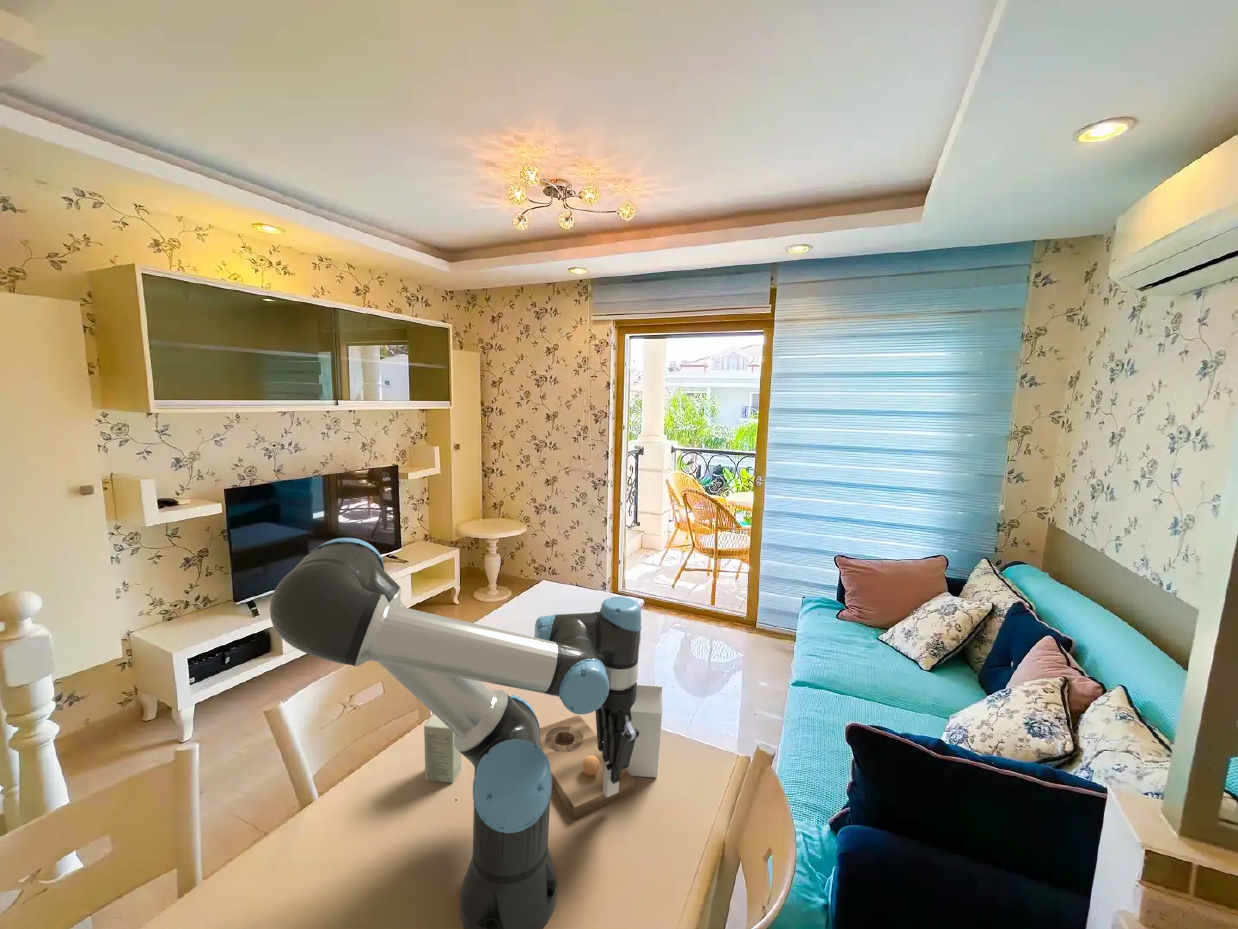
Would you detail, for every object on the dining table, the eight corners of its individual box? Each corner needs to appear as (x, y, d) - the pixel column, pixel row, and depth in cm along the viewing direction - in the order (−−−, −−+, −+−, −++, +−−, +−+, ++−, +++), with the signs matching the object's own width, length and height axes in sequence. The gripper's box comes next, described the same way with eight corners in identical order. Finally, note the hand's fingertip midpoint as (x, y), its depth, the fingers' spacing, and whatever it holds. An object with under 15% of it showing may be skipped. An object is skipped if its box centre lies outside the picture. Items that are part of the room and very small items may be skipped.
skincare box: (462, 768, 106) (462, 715, 105) (453, 784, 102) (454, 729, 100) (433, 764, 107) (433, 712, 105) (423, 780, 103) (423, 725, 101)
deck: (634, 791, 103) (634, 780, 103) (574, 819, 95) (574, 807, 95) (578, 724, 123) (578, 714, 122) (524, 743, 115) (525, 733, 115)
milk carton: (657, 778, 107) (663, 696, 104) (623, 776, 107) (629, 693, 104) (655, 754, 114) (661, 677, 111) (624, 752, 114) (629, 675, 111)
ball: (587, 782, 101) (588, 766, 101) (578, 770, 104) (579, 755, 104) (602, 775, 103) (603, 760, 103) (593, 764, 106) (594, 749, 106)
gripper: (653, 692, 91) (645, 808, 94) (615, 659, 102) (609, 764, 105) (619, 704, 87) (611, 825, 90) (583, 668, 98) (578, 777, 101)
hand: (610, 792), depth 97 cm, fingers closed
